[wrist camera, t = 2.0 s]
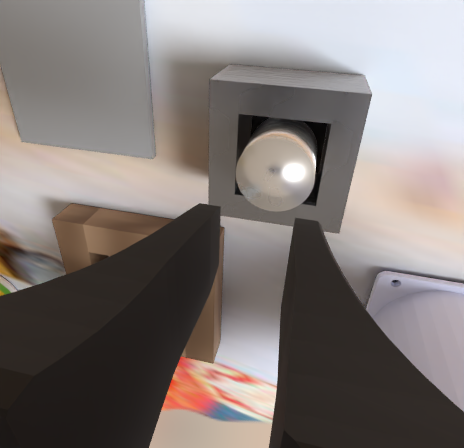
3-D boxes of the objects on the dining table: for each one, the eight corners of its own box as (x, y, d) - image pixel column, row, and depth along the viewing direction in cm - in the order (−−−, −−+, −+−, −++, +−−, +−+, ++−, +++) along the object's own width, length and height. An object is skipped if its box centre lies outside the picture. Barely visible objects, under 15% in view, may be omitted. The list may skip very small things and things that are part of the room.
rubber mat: (142, -18, 16) (137, -18, 16) (155, 155, 20) (152, 159, 20) (-17, -26, 17) (-25, -26, 17) (27, 138, 22) (21, 141, 21)
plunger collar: (364, 75, 16) (372, 94, 13) (337, 197, 19) (338, 233, 16) (230, 64, 17) (209, 79, 14) (225, 181, 20) (208, 213, 17)
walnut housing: (224, 227, 22) (215, 246, 20) (220, 340, 27) (213, 363, 26) (71, 203, 24) (52, 219, 22) (96, 314, 29) (82, 334, 27)
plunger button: (322, 119, 15) (321, 143, 13) (311, 183, 17) (308, 216, 15) (252, 111, 16) (237, 134, 14) (247, 175, 18) (234, 205, 15)
